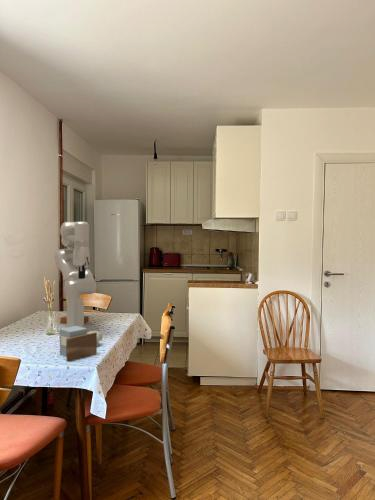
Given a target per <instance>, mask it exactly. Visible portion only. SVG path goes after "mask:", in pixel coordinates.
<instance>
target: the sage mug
mask: <svg viewBox="0 0 375 500" xmlns="http://www.w3.org/2000/svg"><path fill="white" fill-rule="evenodd" d="M94 332H96V333H97V348H98V347H100V342H101V341H103V332H100V331H99V330H89V331H87V334H90V333H94Z"/></svg>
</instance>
